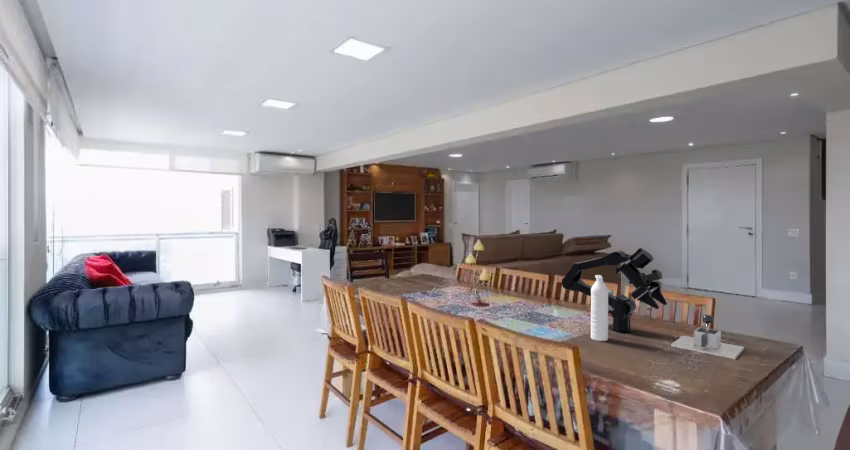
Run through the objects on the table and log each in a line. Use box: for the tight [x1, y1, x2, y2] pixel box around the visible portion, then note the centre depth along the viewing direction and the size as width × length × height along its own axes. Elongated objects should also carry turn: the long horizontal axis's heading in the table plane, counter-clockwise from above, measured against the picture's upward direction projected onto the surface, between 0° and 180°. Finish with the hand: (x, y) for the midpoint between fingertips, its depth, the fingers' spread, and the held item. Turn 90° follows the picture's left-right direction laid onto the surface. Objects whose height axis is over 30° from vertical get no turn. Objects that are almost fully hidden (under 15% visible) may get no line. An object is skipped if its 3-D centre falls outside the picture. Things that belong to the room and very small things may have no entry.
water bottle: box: [590, 274, 609, 342], centre depth 173 cm, size 9×6×25 cm
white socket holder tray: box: [670, 326, 745, 360], centre depth 160 cm, size 20×15×6 cm
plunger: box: [701, 313, 714, 333], centre depth 160 cm, size 5×5×11 cm
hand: (662, 306), depth 171 cm, fingers open, 9 cm apart
